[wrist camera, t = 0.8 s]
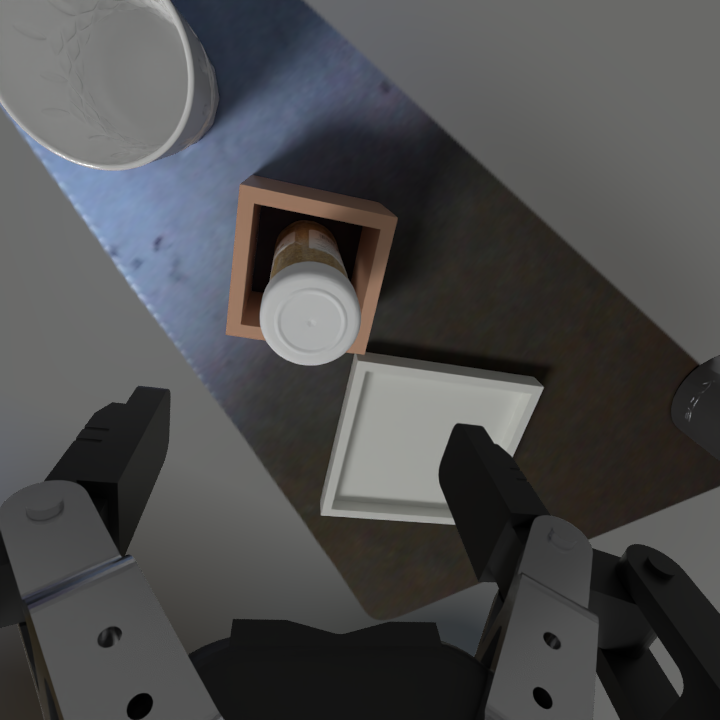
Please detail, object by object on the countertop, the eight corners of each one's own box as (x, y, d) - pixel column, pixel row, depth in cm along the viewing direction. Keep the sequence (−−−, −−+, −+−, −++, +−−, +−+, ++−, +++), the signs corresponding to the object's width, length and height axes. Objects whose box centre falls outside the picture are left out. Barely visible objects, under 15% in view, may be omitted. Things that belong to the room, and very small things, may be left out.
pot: (379, 202, 30) (397, 217, 25) (353, 317, 34) (364, 354, 28) (252, 174, 29) (239, 184, 23) (239, 299, 32) (225, 334, 26)
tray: (533, 376, 38) (543, 387, 37) (474, 512, 45) (481, 526, 44) (355, 350, 35) (357, 360, 34) (320, 500, 42) (321, 515, 40)
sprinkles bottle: (264, 231, 30) (240, 292, 18) (326, 209, 30) (344, 257, 18) (289, 292, 32) (282, 381, 21) (347, 271, 32) (375, 350, 20)
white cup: (194, -18, 24) (131, -108, 15) (249, 138, 28) (225, 138, 19) (58, 27, 24) (-82, -36, 15) (131, 176, 28) (52, 194, 19)
